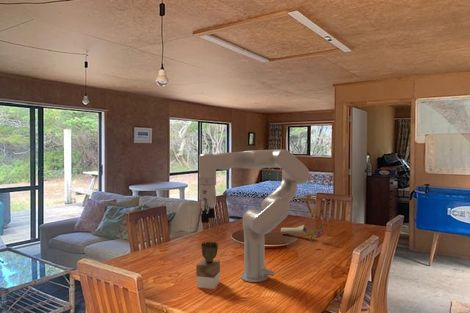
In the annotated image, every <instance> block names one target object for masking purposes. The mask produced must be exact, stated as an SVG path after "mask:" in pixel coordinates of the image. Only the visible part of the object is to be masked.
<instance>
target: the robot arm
mask: <svg viewBox="0 0 470 313" xmlns="http://www.w3.org/2000/svg"><path fill="white" fill-rule="evenodd" d="M239 168H240V169H248V170H251V169H252V170H255V169H271V168H272V169H273V168H281V169H282V172H281V175H282V176H281V177H282V178H281V179H282V180H281V183H280V185H279V186H278V187H277V188H276V189H274V190H273V192H271V193H270V194H268V195H267V196H266V197H265V198H264V199H263V200H262V202H261V204H260V205H261V206H260V207H261V209H262V211H261V210H258V209H255V208H251V209H249V210H248V209H247V211H246V212H245V213H244V214H243V216H242V229H243V238H244V240H243V241H244V244H243V252H244V253H243V254H244V255H243V259H244V260H243V262H244V263H243V268H244V270H243V272H241V274H240V278H241V279H242V280H243V281H246V282H250V283H262V282H265V281H267V280H268V278H269V276H270V277H271V276H272V277H275V271H273V269H268V268H267V266H265V265H266V263H265V260H266V259H265V258H266V257H265V254H266V253H265V249H266V248H265V245H266V243H265V242H266V240H265V238H266V237H265V235H266V234H269V233H270V232H271V231H272V230H273V229H274V228H276V227H277V226H278V225H279V224H281V222H283V221H284V220H285V219H286V218H287V217H288V215H289V213H290V209H291V206H290V202H291V201H292V200H293V198H295V196H296V194H297V190H298V185H299V184H300V185H302V184H306V183H307V182H308V180H309V179H310V175H311V174H310V170H309V169H308V167H307V166H306V165H305V164H304V163H303V162H302V161H301V160H300V159H298V157H296V155H294V154H293V153H292V152H290V151H289V150H287V149H280V148H279V149H277V148H276V149H257V150H255V149H254V150H245V151H235V152H234V151H232V152H218V153H216V154H215V153H201V154H199V156H198V183H199V184H198V186H200V208H201V209H200V210H201V212H200V213H201V215H200V216H201V221H200V222H201V223H202V224H203V223H204V224H206V223H207V224H208V223H209V222H210V219H215V216H216V214H215V211H216V210H215V207H216V206H217V190H216V186H217V170H222V171H227V170H228V171H229V170H230V169H239Z"/></svg>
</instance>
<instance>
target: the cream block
mask: <svg viewBox="0 0 470 313" xmlns="http://www.w3.org/2000/svg"><path fill="white" fill-rule="evenodd" d="M220 272H221V271H220ZM220 272H219V273H218V274H217V275H216V276H215V277H214V278H210V277H200V276H197V275H196V288H200V289H208V290H209V289H211V290H215V289H216V288H217V287H218V285H219V284H220V281H221V280H220V279H221V278H220V277H221V276H220Z"/></svg>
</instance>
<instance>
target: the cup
mask: <svg viewBox="0 0 470 313" xmlns="http://www.w3.org/2000/svg"><path fill="white" fill-rule="evenodd" d="M218 244H219V243H217V242H216V241H214V242H213V241H206V242H205V241H204V242H202V243H201V244H200V246H201V254H202V257H203V259H205V261H206V262H208V263H211V262H213V260H215V258H216V257H217V255H218V249H219V245H218Z"/></svg>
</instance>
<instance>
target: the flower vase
mask: <svg viewBox="0 0 470 313" xmlns="http://www.w3.org/2000/svg"><path fill="white" fill-rule="evenodd" d="M317 226H318V227H317V229H316V228H315V227H316V225H315V224H314V225H313V227H312V231H311V230H308V227H307V226H306V225H305V224H302V225H300V226H297V227H281V228H280V233H281V232H287V233H290V234H302V235H303V234H304V235H306V234H307V233H308V234H307V235H306V236H307V237H309V238H310V241H309V242H310V243H311V242H312V241H313V238H314V237H315V239H320V238H321V237H322V235H323V234H324V232H325V228H324V227H323V226H324V225H323V224H320V225H317ZM319 229H320V230H319ZM314 234H315V236H314Z"/></svg>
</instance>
